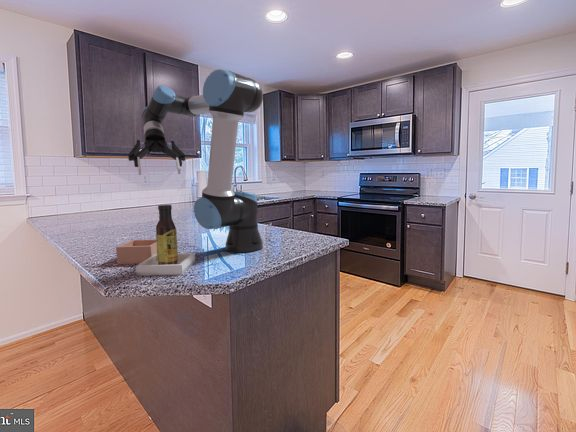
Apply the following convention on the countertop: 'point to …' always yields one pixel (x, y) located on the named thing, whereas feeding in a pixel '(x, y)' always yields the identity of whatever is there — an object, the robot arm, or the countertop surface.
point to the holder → (136, 251)
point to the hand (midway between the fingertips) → (160, 171)
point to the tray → (165, 266)
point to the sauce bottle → (166, 237)
